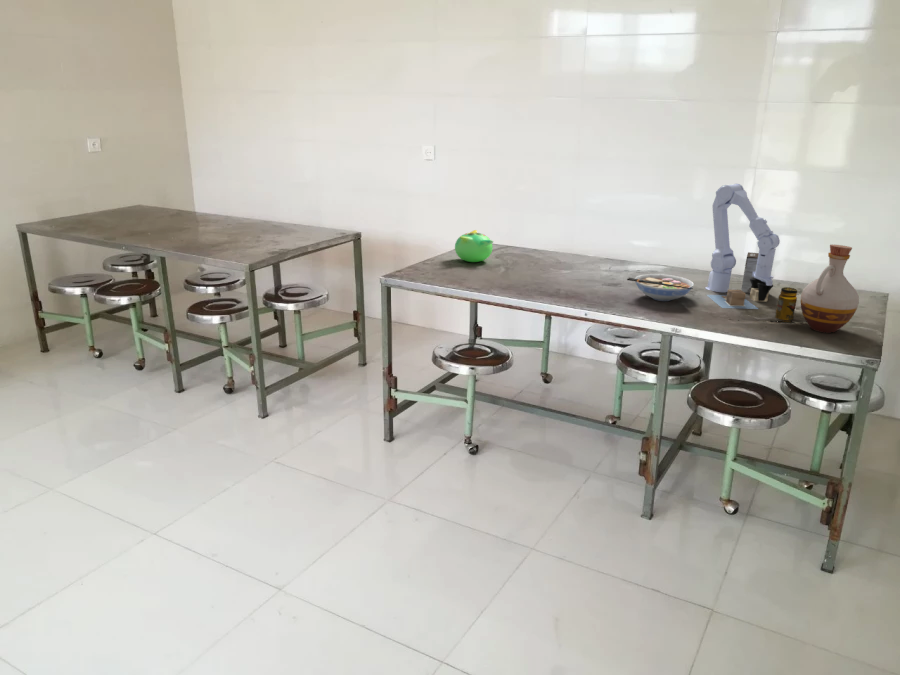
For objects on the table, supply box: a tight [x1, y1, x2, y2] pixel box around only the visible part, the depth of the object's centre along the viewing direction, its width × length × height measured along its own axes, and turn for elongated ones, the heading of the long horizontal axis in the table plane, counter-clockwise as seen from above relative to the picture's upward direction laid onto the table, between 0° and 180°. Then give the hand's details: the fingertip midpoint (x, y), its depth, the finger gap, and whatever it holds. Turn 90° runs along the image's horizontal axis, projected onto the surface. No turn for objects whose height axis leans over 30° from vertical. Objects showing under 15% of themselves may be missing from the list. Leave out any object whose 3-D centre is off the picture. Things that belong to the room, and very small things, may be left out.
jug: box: [800, 244, 860, 334], centre depth 233 cm, size 20×18×30 cm
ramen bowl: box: [626, 273, 695, 302], centre depth 270 cm, size 25×23×8 cm
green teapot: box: [454, 229, 494, 263], centre depth 322 cm, size 18×17×15 cm
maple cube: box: [749, 288, 770, 303], centre depth 269 cm, size 5×5×5 cm
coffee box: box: [740, 251, 759, 294], centre depth 280 cm, size 9×6×16 cm
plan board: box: [706, 294, 759, 310], centre depth 266 cm, size 18×14×1 cm
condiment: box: [770, 286, 798, 325], centre depth 246 cm, size 7×8×12 cm
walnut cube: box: [726, 289, 747, 306], centre depth 262 cm, size 5×5×5 cm
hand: (758, 298), depth 269 cm, fingers closed on maple cube, 5 cm apart
